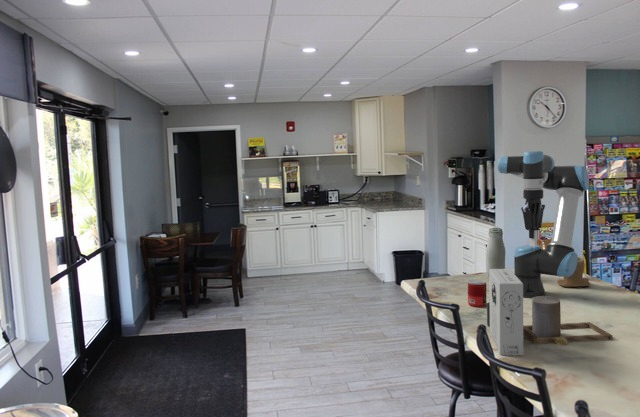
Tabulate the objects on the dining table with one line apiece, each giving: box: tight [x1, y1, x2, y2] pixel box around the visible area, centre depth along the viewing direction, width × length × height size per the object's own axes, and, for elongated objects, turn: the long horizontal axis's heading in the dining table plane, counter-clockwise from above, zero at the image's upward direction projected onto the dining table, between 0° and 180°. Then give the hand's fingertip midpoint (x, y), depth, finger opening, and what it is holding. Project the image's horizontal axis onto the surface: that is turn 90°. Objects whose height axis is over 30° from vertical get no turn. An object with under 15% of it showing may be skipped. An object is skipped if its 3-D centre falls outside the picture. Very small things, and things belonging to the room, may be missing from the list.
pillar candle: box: [531, 295, 562, 338], centre depth 184 cm, size 10×10×15 cm
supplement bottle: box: [486, 296, 490, 328], centre depth 197 cm, size 7×7×12 cm
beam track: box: [523, 321, 613, 346], centre depth 185 cm, size 29×19×3 cm, turn 92°
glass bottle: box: [485, 227, 506, 278], centre depth 268 cm, size 10×10×28 cm
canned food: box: [467, 278, 487, 308], centre depth 224 cm, size 8×8×11 cm
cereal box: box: [488, 268, 524, 357], centre depth 178 cm, size 22×8×25 cm, turn 170°
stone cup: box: [557, 256, 591, 288], centre depth 247 cm, size 15×12×15 cm
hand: (533, 245), depth 206 cm, fingers closed
